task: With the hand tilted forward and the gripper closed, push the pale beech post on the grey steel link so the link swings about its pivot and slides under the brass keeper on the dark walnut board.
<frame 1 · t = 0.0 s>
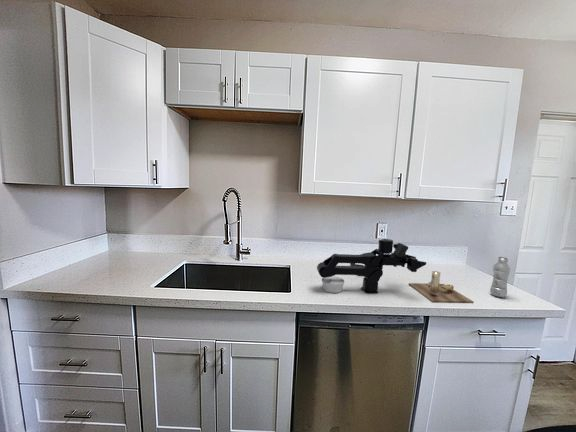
hand: (420, 260, 125), 17 cm above the worktop, tool horizontal, fingers open, 9 cm apart
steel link: (434, 279, 126), point 7 cm above the worktop, hinge at 0.0°
plastic bottle: (497, 296, 125), on the worktop
door handle: (364, 271, 156), on the worktop
walnut board: (438, 293, 126), on the worktop
ramekin: (332, 289, 126), on the worktop
brass keeper: (449, 293, 126), resting on walnut board
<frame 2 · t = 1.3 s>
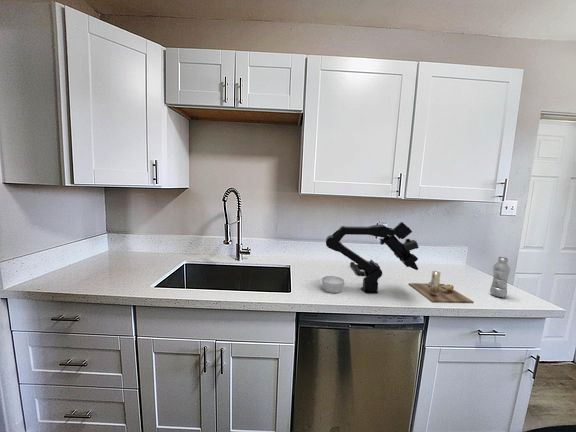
hand: (416, 268, 121), 14 cm above the worktop, tool tilted 45°, fingers open, 3 cm apart
nothing on the worktop moved.
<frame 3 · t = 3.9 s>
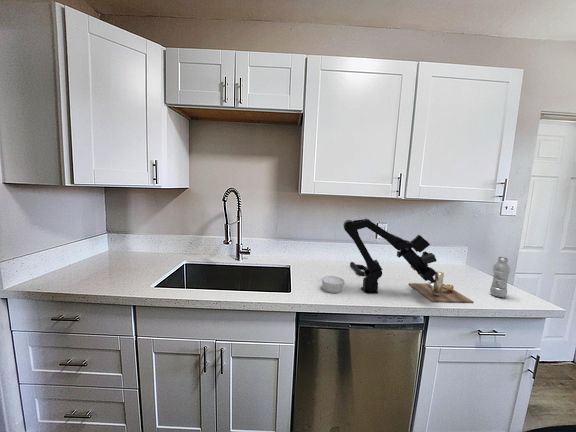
hand: (434, 282, 120), 8 cm above the worktop, tool tilted 45°, fingers closed, pressing on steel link
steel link: (435, 279, 125), point 7 cm above the worktop, hinge at 6.6°, touching gripper
everything else where it was.
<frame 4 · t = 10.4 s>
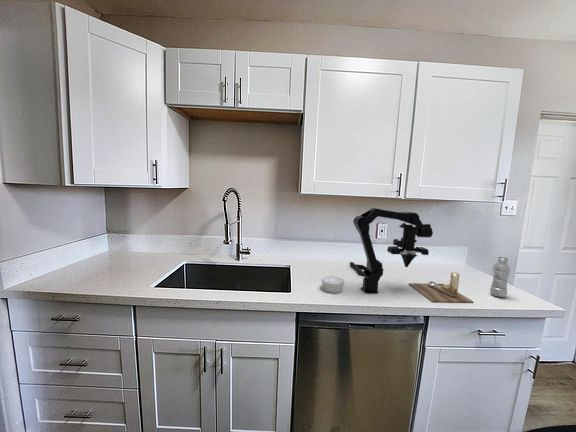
hand: (406, 266, 125), 13 cm above the worktop, tool pointing down, fingers closed
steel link: (443, 280, 125), point 7 cm above the worktop, hinge at 42.5°
at the end: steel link at +42° (first picture: +0°) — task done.
